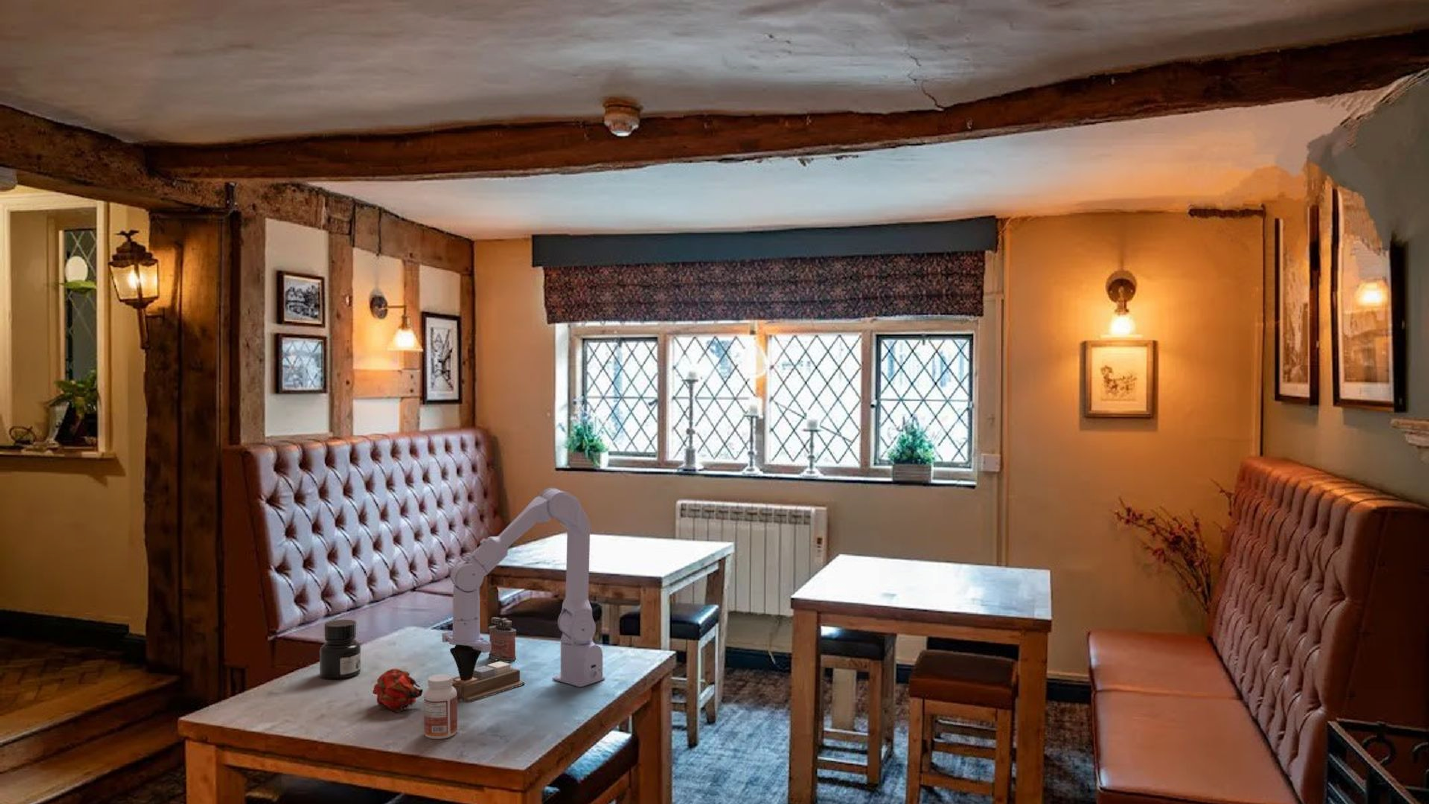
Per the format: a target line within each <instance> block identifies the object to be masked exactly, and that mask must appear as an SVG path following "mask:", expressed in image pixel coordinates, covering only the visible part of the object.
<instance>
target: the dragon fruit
mask: <svg viewBox="0 0 1429 804" xmlns="http://www.w3.org/2000/svg"><path fill="white" fill-rule="evenodd" d="M416 682H417V680H415V679H414V678H413V677H411V676H410V672H408V671H404V670H401V669H398V668H392V669H389V670H386V671H385V672H384V673H382V674H381V675H380V676H379V677H378V678H377V681H376V683H375V684H374V686H373V690H372V694H373V695H376V702H377V705H378V707H379V708H382V707H385V706H386V707H388V709H390V710H392V711H393V712H404V709H402V707H403V706H404V707H405V706H409V705H410V706H412V707H413V705H414V704H415V703H416V699H417V698H419V697H421V696H422V695H423V690H424V689H423V688H421V687H420V685H419V684H417V683H416ZM414 685H415V686H416V687H415V686H414ZM417 687H418V688H417ZM419 688H420V689H419Z"/></svg>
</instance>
